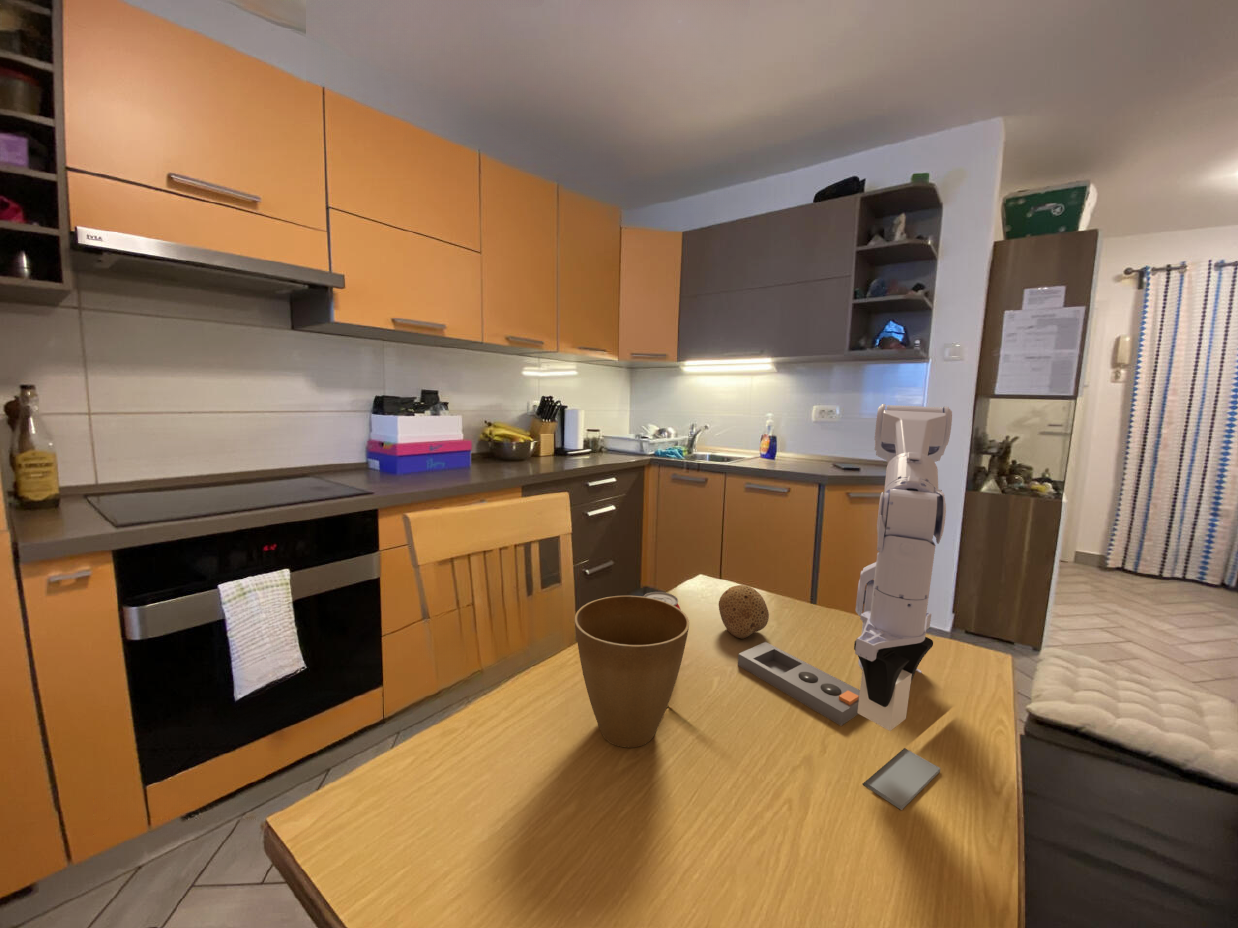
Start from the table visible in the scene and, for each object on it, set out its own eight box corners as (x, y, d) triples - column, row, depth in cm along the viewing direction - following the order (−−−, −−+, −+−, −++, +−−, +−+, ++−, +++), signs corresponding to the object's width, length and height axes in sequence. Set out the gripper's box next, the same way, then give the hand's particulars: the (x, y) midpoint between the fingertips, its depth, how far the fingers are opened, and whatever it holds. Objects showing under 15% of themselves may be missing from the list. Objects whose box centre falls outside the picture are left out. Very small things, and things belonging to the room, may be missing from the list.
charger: (873, 701, 65) (878, 657, 64) (905, 718, 62) (912, 672, 61) (857, 712, 63) (862, 666, 62) (890, 730, 60) (896, 682, 59)
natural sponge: (751, 623, 100) (755, 575, 98) (776, 646, 91) (781, 594, 90) (709, 628, 97) (712, 579, 96) (731, 652, 89) (735, 598, 87)
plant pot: (706, 745, 66) (713, 629, 63) (604, 786, 58) (608, 657, 56) (645, 684, 78) (649, 586, 76) (555, 712, 71) (557, 605, 69)
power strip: (764, 657, 87) (765, 639, 87) (866, 713, 73) (869, 691, 72) (737, 670, 83) (738, 650, 82) (840, 732, 69) (842, 708, 68)
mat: (860, 726, 70) (861, 723, 70) (939, 771, 62) (940, 767, 62) (819, 756, 64) (820, 752, 64) (901, 810, 56) (902, 806, 56)
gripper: (895, 568, 67) (883, 662, 69) (835, 591, 58) (824, 699, 61) (954, 585, 61) (940, 688, 64) (898, 615, 53) (883, 732, 55)
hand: (887, 695), depth 62 cm, fingers closed on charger, 4 cm apart
